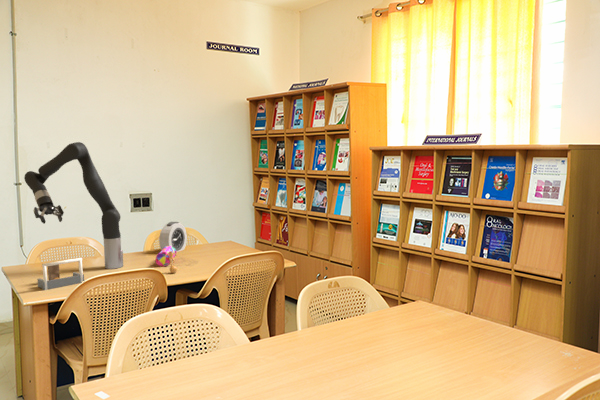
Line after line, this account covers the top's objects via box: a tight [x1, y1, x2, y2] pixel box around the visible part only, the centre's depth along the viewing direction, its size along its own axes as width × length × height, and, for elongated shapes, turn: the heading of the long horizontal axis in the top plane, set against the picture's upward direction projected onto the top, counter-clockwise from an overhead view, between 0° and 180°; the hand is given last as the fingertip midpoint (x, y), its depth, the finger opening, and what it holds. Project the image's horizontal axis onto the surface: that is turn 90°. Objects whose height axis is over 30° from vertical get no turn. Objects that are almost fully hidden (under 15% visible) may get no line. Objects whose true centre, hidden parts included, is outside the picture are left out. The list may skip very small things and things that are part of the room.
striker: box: [47, 264, 61, 281], centre depth 254 cm, size 4×4×10 cm
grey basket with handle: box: [37, 257, 85, 291], centre depth 248 cm, size 20×9×13 cm, turn 137°
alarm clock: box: [158, 221, 188, 253], centre depth 332 cm, size 21×8×20 cm, turn 160°
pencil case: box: [155, 246, 178, 267], centre depth 297 cm, size 22×9×9 cm, turn 6°
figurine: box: [165, 251, 179, 274], centre depth 271 cm, size 8×6×12 cm
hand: (52, 221), depth 271 cm, fingers open, 8 cm apart
